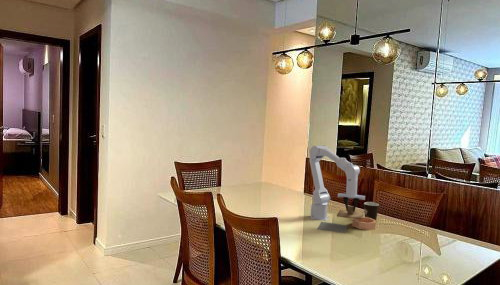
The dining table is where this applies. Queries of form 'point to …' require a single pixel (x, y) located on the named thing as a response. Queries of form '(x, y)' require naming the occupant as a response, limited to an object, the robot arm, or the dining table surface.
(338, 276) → the dining table surface
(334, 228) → the mat
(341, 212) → the lid
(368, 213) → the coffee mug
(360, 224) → the bowl
